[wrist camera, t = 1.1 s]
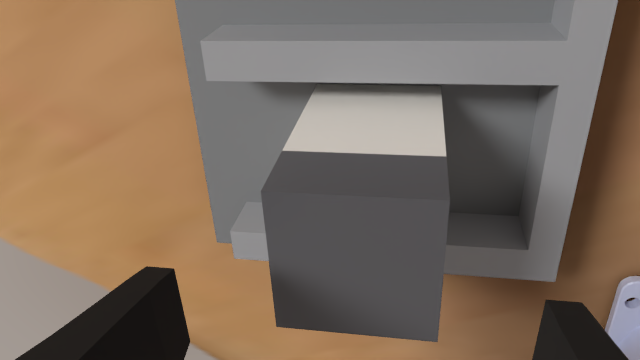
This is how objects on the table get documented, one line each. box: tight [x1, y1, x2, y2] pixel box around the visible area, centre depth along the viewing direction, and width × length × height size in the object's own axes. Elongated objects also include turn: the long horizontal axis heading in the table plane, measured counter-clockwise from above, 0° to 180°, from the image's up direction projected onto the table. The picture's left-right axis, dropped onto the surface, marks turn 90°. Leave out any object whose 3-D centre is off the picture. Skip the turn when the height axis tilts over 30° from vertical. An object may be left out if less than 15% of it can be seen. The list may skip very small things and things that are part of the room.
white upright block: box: [261, 84, 450, 342], centre depth 15 cm, size 4×4×7 cm
